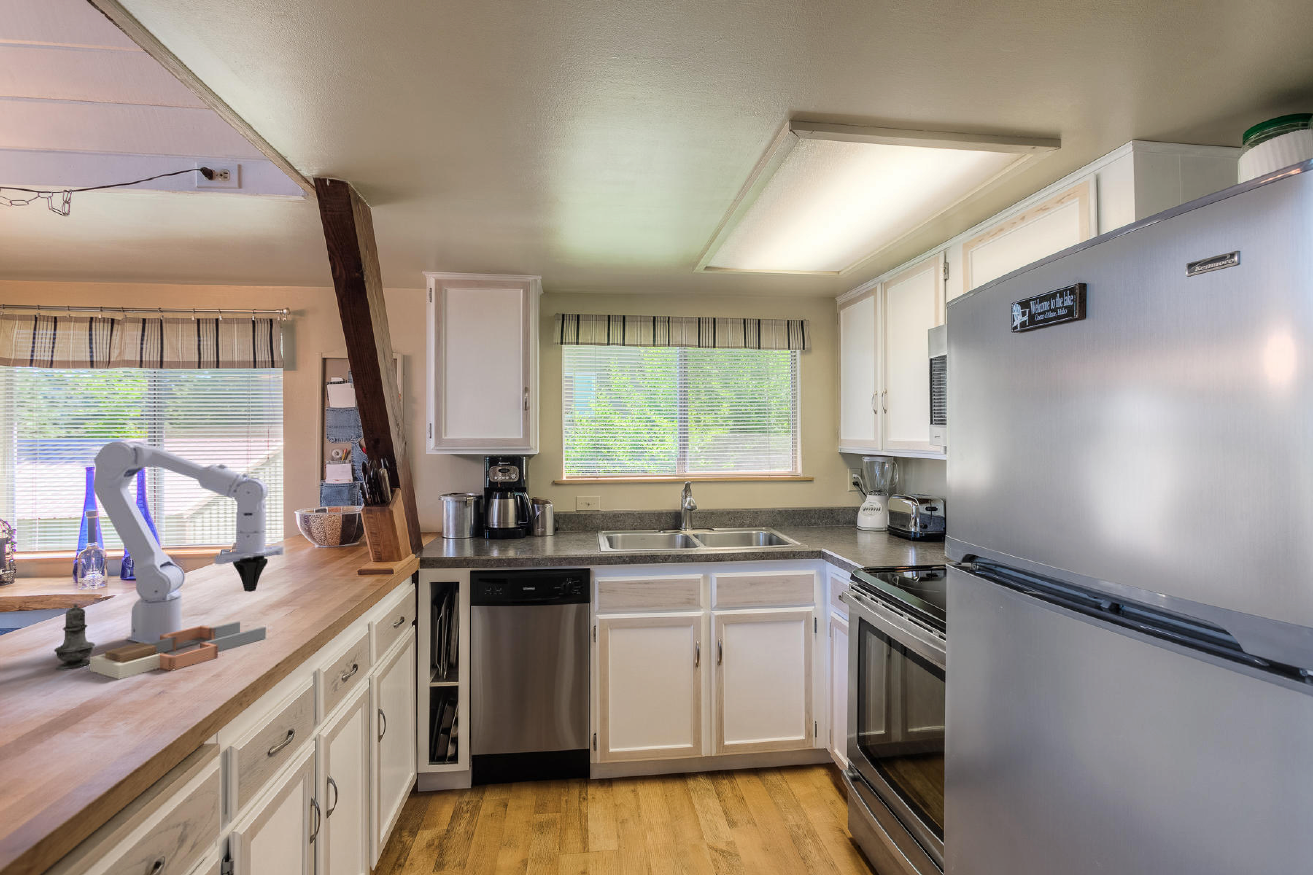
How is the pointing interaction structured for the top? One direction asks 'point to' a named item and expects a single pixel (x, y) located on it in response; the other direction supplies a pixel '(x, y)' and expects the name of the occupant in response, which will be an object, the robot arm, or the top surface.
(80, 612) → the salt shaker
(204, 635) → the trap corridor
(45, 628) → the top surface
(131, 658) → the walnut block
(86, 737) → the top surface
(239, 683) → the top surface
